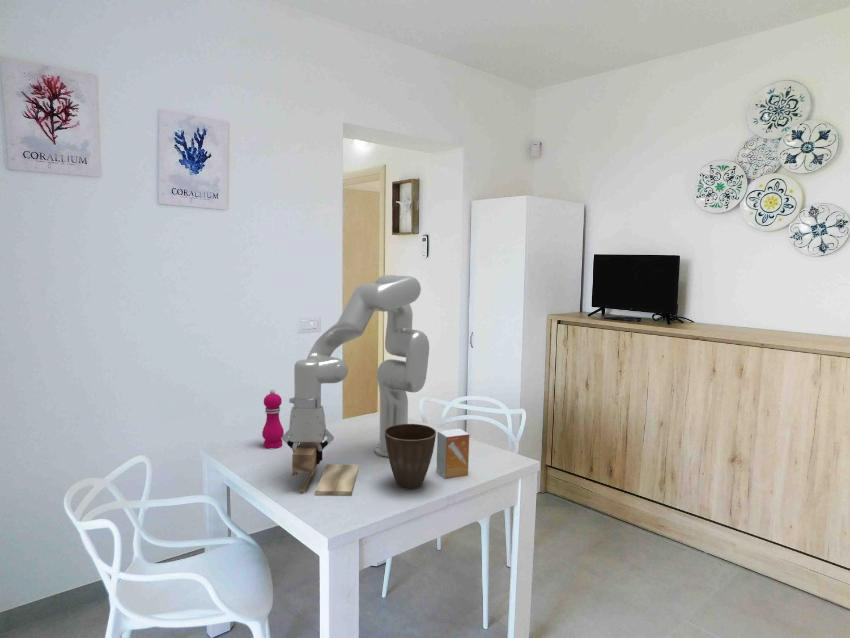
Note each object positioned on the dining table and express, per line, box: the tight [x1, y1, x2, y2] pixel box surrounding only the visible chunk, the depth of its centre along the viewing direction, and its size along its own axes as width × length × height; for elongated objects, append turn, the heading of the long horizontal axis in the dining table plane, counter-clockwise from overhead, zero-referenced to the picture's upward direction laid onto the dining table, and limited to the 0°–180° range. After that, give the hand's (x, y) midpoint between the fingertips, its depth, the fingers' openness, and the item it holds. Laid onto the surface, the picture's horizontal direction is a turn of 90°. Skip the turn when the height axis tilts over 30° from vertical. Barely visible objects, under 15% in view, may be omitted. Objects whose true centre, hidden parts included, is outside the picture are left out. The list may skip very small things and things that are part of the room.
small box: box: [436, 428, 470, 479], centre depth 169 cm, size 8×6×13 cm
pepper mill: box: [261, 389, 285, 449], centre depth 191 cm, size 7×7×20 cm
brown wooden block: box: [291, 443, 318, 477], centre depth 161 cm, size 6×16×6 cm, turn 1°
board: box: [298, 463, 360, 497], centre depth 162 cm, size 15×20×1 cm
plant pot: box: [385, 423, 437, 490], centre depth 160 cm, size 15×15×16 cm
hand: (307, 462), depth 162 cm, fingers closed on brown wooden block, 5 cm apart
